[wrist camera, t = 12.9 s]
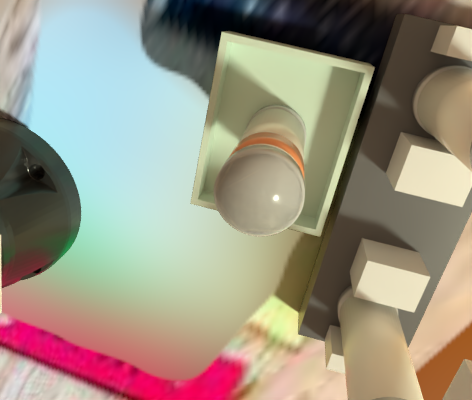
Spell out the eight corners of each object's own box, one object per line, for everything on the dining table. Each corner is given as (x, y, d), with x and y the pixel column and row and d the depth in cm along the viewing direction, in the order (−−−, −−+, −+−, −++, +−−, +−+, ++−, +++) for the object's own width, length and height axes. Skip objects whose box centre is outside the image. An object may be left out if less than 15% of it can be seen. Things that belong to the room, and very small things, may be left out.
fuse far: (330, 320, 37) (340, 462, 25) (346, 275, 35) (365, 404, 23) (384, 335, 37) (420, 485, 25) (404, 290, 35) (452, 428, 23)
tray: (199, 190, 38) (190, 203, 35) (229, 30, 33) (221, 32, 30) (319, 220, 37) (320, 236, 34) (369, 63, 32) (374, 67, 29)
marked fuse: (241, 155, 35) (206, 223, 23) (253, 97, 33) (223, 141, 22) (297, 169, 35) (291, 245, 23) (313, 112, 33) (315, 163, 21)
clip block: (298, 313, 41) (296, 362, 35) (396, 14, 31) (417, 12, 25) (395, 338, 40) (409, 393, 34) (527, 43, 30) (581, 49, 24)
